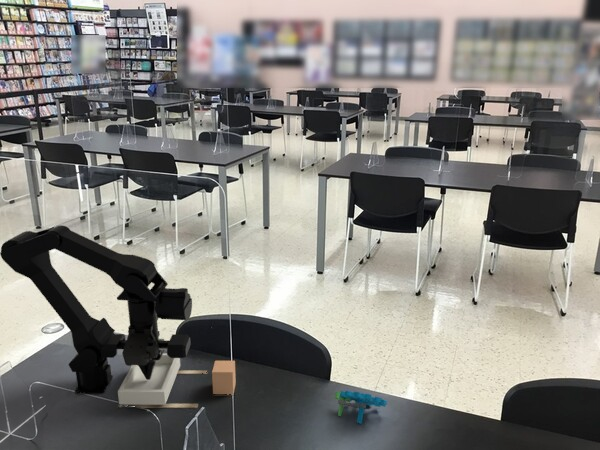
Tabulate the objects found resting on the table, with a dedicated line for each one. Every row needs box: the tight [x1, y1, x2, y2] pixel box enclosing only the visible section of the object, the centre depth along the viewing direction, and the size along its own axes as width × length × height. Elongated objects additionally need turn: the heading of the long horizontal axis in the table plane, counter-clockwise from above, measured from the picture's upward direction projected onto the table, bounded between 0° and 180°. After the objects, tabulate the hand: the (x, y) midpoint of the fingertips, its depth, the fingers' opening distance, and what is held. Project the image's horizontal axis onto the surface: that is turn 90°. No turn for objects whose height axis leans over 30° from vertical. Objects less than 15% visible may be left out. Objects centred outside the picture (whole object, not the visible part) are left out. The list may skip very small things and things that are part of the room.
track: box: [118, 369, 208, 409], centre depth 116 cm, size 17×14×1 cm
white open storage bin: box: [117, 352, 181, 405], centre depth 115 cm, size 10×15×4 cm, turn 0°
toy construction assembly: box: [334, 390, 388, 425], centre depth 107 cm, size 11×6×10 cm
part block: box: [211, 360, 237, 396], centre depth 115 cm, size 4×4×6 cm
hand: (148, 378), depth 115 cm, fingers closed
